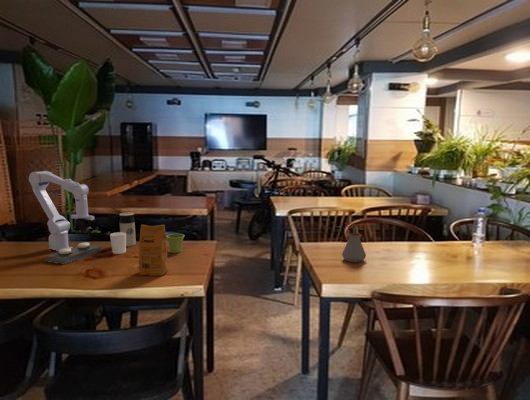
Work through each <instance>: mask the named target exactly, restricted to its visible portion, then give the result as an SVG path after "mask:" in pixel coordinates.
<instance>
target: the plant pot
mask: <svg viewBox="0 0 530 400" xmlns="http://www.w3.org/2000/svg"><path fill="white" fill-rule="evenodd" d="M166 238H167V243H168V248H169V252H170V253H171V254H178V253H181V252H183V245H184V244H183V243H184V238H185V234H183V233H171V234H166Z"/></svg>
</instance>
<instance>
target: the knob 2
mask: <svg viewBox="0 0 530 400" xmlns="http://www.w3.org/2000/svg"><path fill="white" fill-rule="evenodd" d="M90 245H91V244H90V242H85V241H84V242H79V243H77V246H78V248H80V249H83V250H84V249H87V248H88V247H89V246H90Z"/></svg>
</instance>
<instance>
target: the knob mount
mask: <svg viewBox="0 0 530 400" xmlns="http://www.w3.org/2000/svg"><path fill="white" fill-rule="evenodd" d="M89 245H90V246H89V247H88V248H87V249H84V250H83V249H80V248H78V245H77V246H73V248H71V253H69V255H66V256H63V255H61V254H59V251H56V252H55V253H51V254H49V255H46V256H45V259H46V262H47V261H52V262H58V263H64V264H63V265H67V264H66V263H68V264H70V263H69V262H71V263H73V262H72V261H74V262H76V261H79V260H82V259H85V258H87V257H90V256H93V255H95V254H99V253H101V252H102V245H94V244H89ZM75 260H76V261H75ZM58 263H57V264H58Z"/></svg>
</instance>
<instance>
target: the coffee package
mask: <svg viewBox="0 0 530 400" xmlns="http://www.w3.org/2000/svg"><path fill="white" fill-rule="evenodd" d="M139 232H140V233H139V243H138V267H139V276H151V277H159V276H164V275H165V274H166V273H167V272H168V270H169V263H168V262H169V261H168V239H167V237H166V236H167V233H166V225H165V224H159V225H147V224H141V225H140V231H139Z"/></svg>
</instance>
